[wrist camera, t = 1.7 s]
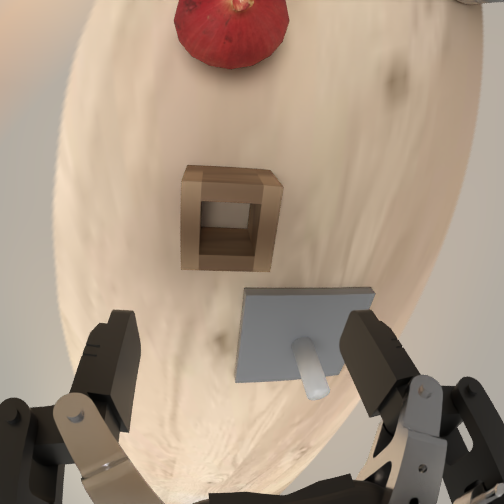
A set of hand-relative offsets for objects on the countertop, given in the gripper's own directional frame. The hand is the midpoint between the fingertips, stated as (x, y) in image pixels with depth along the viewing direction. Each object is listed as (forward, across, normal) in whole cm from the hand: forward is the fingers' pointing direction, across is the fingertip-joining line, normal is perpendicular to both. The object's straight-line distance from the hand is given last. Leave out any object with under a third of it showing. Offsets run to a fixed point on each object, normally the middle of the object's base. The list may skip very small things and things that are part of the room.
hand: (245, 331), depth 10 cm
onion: (+12, +1, -12) cm, 17 cm away
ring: (+12, 0, 0) cm, 12 cm away
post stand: (+12, -8, +13) cm, 19 cm away
